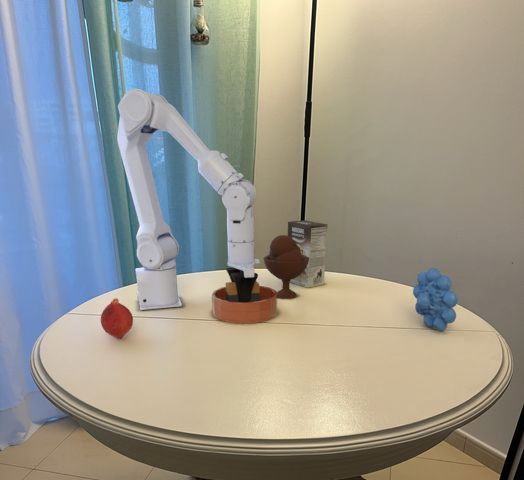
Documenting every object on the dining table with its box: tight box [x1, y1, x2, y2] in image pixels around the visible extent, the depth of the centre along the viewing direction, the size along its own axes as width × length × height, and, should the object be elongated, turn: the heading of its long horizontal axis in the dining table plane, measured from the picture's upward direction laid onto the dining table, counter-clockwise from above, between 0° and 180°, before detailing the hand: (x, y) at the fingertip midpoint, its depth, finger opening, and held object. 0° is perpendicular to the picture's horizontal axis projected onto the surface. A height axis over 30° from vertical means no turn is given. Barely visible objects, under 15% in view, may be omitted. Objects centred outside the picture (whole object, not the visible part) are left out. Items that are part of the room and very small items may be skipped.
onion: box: [100, 297, 134, 339], centre depth 86 cm, size 6×6×8 cm
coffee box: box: [287, 220, 329, 288], centre depth 121 cm, size 9×6×16 cm
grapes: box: [412, 267, 459, 332], centre depth 90 cm, size 12×7×12 cm, turn 23°
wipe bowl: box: [211, 285, 278, 325], centre depth 100 cm, size 14×14×4 cm
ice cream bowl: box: [263, 234, 309, 300], centre depth 110 cm, size 11×11×15 cm
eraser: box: [225, 280, 261, 302], centre depth 102 cm, size 7×4×6 cm, turn 106°
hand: (242, 301), depth 103 cm, fingers closed on eraser, 3 cm apart
